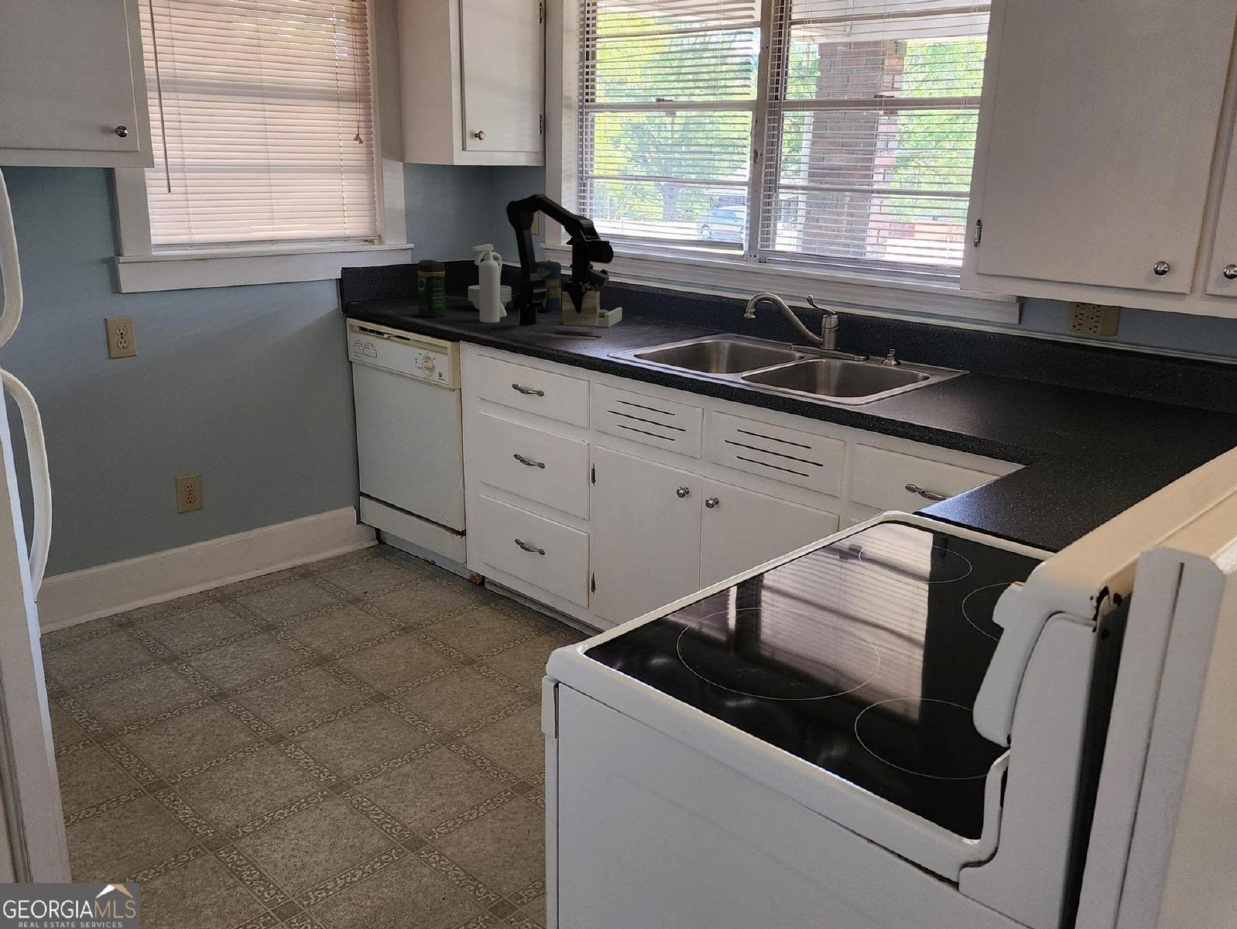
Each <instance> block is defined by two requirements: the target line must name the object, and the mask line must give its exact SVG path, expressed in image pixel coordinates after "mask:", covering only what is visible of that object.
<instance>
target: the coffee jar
mask: <svg viewBox="0 0 1237 929" xmlns="http://www.w3.org/2000/svg"><path fill="white" fill-rule="evenodd" d="M416 270H417V271H416V272H417V278H418V280H417V281H418V282H417V283H418V304H417V306H418V308H417V309H418V315H420V316H422V317H426V318H430V317H431V318H432V317H433V318H440V317H444V316H446V315H447V312H446V311H447V310H446V308H447V307H446V294H445V293H446V292H445V275H446V271H445V270H446V269H445V264H444V263H443V262H442V261H437V260H434V259H421V260H419V261H418V263H417V268H416Z"/></svg>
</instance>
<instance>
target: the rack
mask: <svg viewBox="0 0 1237 929" xmlns="http://www.w3.org/2000/svg"><path fill="white" fill-rule="evenodd" d="M622 320H623V307H617V308H615V309H613V310H611V311H608V310H607V314H605V319H603V318H599V324H598V325H582V324H568V323H563V325H564V326H565V325H567V326H569V325H570V326H582V327H596V328H610V327H611V326H613V325H615V324H617V323H619V322H620V321H622Z"/></svg>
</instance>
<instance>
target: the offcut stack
mask: <svg viewBox="0 0 1237 929" xmlns="http://www.w3.org/2000/svg"><path fill="white" fill-rule="evenodd" d="M607 311H608V310H607V309H599V318H603V319H605V314H607Z"/></svg>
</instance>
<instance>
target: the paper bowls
mask: <svg viewBox="0 0 1237 929" xmlns="http://www.w3.org/2000/svg"><path fill="white" fill-rule="evenodd" d="M467 287H468V288H467V300H468V301H469V302H472V304H473V306H474V308H475V309H477V310H478V311H480V308H479V284H478V285H477V284H476V285H470V286H467ZM499 298H500V302H501V304H503V307H504V309H505V308H506V306H507V303H508V302H512V287H511V286H509V285H504V284H503V285H501V284H500V297H499Z"/></svg>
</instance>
